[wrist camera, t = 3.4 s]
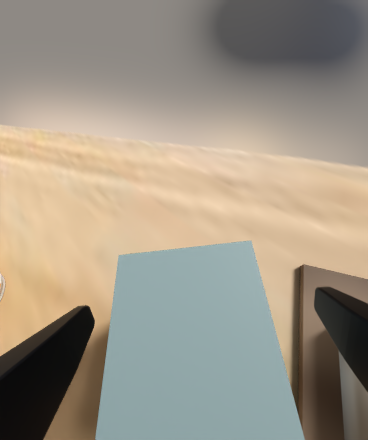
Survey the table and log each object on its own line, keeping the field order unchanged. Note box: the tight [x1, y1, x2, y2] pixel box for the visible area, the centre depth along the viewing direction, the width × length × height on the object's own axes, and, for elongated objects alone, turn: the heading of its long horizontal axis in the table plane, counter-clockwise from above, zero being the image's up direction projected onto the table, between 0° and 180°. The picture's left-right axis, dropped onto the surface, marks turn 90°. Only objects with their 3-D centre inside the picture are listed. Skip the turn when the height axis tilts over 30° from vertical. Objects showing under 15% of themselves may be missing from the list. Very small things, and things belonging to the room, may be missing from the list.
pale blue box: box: [95, 241, 305, 440], centre depth 8 cm, size 6×4×10 cm, turn 3°
